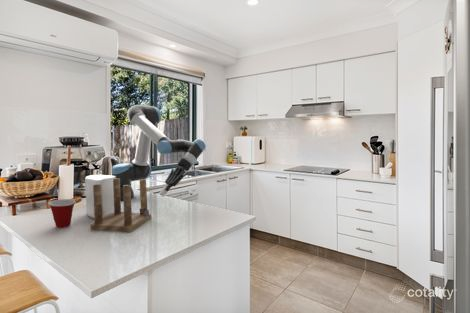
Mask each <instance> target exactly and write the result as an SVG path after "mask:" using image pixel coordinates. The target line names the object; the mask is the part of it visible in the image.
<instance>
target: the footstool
mask: <svg viewBox="0 0 470 313" xmlns="http://www.w3.org/2000/svg"><path fill="white" fill-rule="evenodd" d="M131 187H132V184H131V185H123V199H124V200H123V211H122V201H121V198H120V179H119V178H116V179H113V191H114V213H113V214H110V215H108V216H106V217H104V218H102V199H101V184H93V194H94V216H95V219H94V222H93V223H90V226H89V227H90V228H89V229H90V230H91V231H103V232H105V231H106V232H116V233H117V232H119V233H131V232H133V231H135V230H136V229H137V228H139V227H140V226H142V225H144V224H145V223H147V222H148V221H150V220H151V219H152V213H149V216H144V214H141V215H140V212H133V211H132V199H131Z"/></svg>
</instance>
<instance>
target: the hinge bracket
mask: <svg viewBox="0 0 470 313" xmlns="http://www.w3.org/2000/svg"><path fill="white" fill-rule="evenodd" d="M139 213H140V215H141V214H144V216H149V214H150V210H149V209H147V210H144V212H143V211H141V208H139Z"/></svg>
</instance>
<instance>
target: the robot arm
mask: <svg viewBox="0 0 470 313" xmlns="http://www.w3.org/2000/svg"><path fill="white" fill-rule="evenodd" d="M126 114H127V119H128V121H129V123H130V124H132V126H134V127H137V128H138V129H139V132H138V138H137V145H136V150H135V156H134V159H133V160H131V163H130V162H123V163H118V164H115V165H113V166H112V167H111V175H112V176H116V178H119V179H120V198H121V202H122V201H124V199H123V185H131V200H132V199H134V198H135V193H134V190H133V187H132V182H136V181H139V180H141V179H146V180H147V179H149V178H150V176H151V175H152V166H151V165H150V162H149V160H148V159H149V155H150V150H151V144H152V142H153V143H154V144H155V145H156V150H157V152H158V153H159V154H160V155H161V154H162V155H169V154H180V153H182V154H183V153H184V154H183V155H182V156H181V158H180V159H179V160H178V161H177V166H176V167H175V169H174V168H171V170H170V172H169V175H168V176H167V177H166V179H165V181H164V183H165V185H164V186H163V188H162V189H161V190H160V191H159V193H158V194H159V195H161V197H164V198H165V196H166V194H167V193H168V191H170V189H171V188H172V187H176V186H177V185H178V184H179V183H180V181H182V180H183V179H184V177H185V176H187V175H188V173H187V172H188V171H190V169H191V168H192V166H193V165H194V164H195V162H196V161H197V159H199V157H200V156H201V155H202V153H204V150H205V149H206V147H207V146H206V143H205V142H204V141H203V140H201V139H198V138H197V139H195V140H194V141H189V140H185V139H183V138H182V139H181V138H177V139H176V140H175V139H174V140H171V139H170V138H169V137H167V136H166V135H165V134H164V133H163V132H162V131H161V130H160V129H158V128H157V125H158V124H160V123H161V121H162V113H161V110H160V109H159V108H158V107H156V106H152V105H143V104H141V105H140V104H135V105H132V106H131V107H129V108H128V110H127V112H126Z"/></svg>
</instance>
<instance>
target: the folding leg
mask: <svg viewBox="0 0 470 313" xmlns="http://www.w3.org/2000/svg"><path fill="white" fill-rule="evenodd" d="M138 181H139V198H140V199H139V200H140V209H141V211H143V212H144V210H148V194H147V191H148V190H147V179H141V180H138Z"/></svg>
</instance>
